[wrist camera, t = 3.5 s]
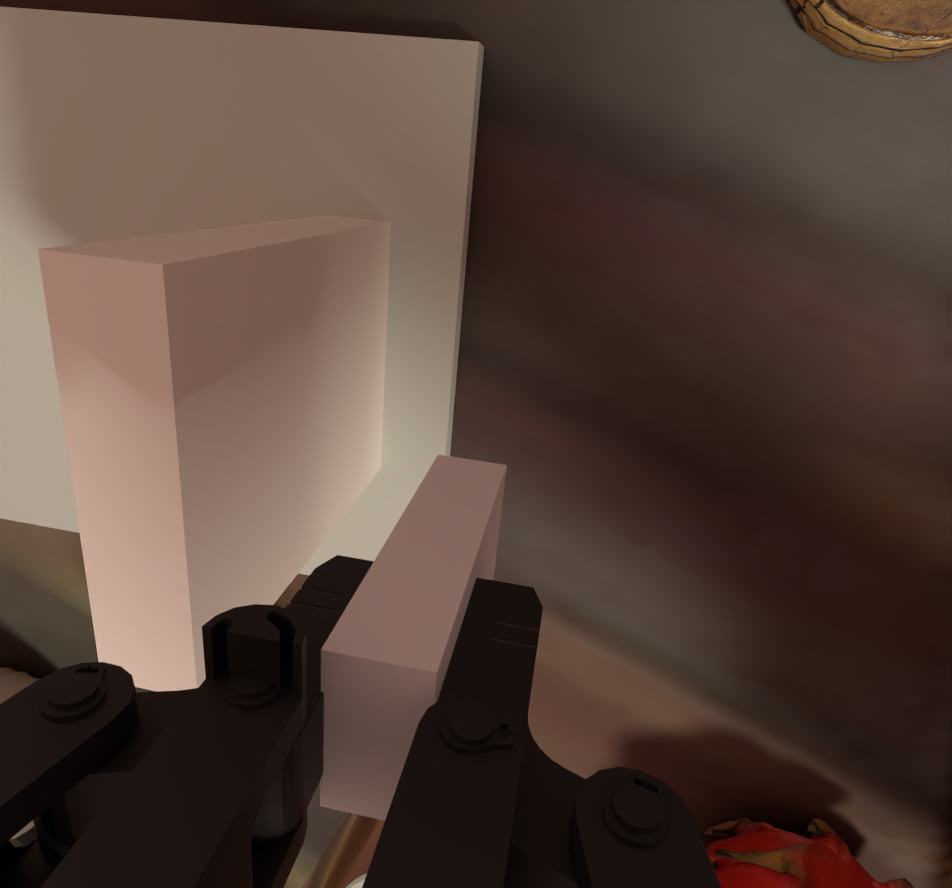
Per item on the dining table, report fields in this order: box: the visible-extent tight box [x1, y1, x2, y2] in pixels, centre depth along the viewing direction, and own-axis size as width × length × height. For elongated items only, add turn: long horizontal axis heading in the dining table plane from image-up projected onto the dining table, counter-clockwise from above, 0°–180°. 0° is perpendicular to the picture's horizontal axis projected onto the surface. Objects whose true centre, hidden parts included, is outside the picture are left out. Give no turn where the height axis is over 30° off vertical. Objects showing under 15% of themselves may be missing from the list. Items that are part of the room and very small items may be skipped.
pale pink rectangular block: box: [38, 215, 391, 692], centre depth 21 cm, size 3×10×14 cm, turn 175°
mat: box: [0, 7, 484, 575], centre depth 29 cm, size 24×22×1 cm
